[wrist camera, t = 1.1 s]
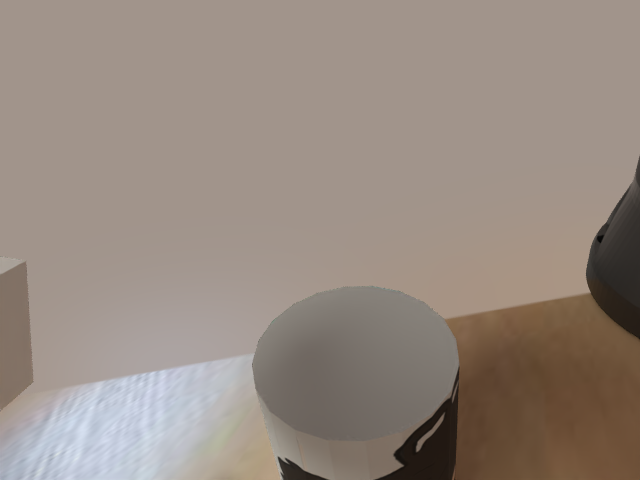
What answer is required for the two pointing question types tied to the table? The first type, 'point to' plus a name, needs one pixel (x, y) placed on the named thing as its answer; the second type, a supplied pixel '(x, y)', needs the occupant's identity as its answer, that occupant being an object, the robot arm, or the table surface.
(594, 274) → the robot arm
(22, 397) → the table surface
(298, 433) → the white printed cylinder
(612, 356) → the table surface
